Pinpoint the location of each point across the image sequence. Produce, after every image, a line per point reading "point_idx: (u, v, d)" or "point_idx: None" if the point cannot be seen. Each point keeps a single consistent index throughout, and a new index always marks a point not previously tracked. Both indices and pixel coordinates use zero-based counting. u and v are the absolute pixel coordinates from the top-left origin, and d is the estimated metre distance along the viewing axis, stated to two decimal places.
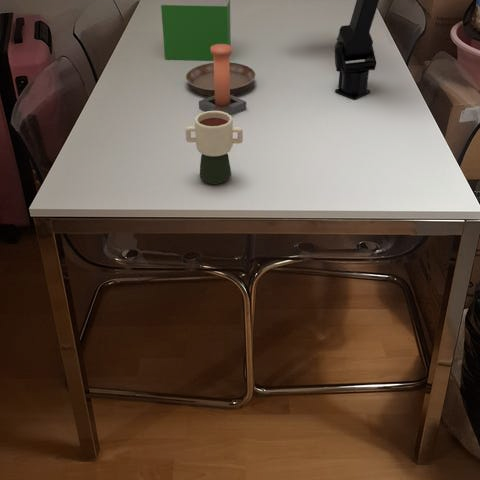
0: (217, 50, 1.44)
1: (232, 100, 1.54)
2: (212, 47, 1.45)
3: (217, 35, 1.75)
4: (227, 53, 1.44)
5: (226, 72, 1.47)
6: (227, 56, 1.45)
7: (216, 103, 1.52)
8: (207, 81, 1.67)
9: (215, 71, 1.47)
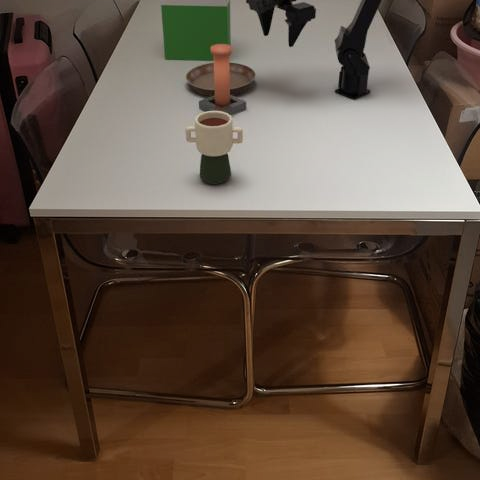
0: (217, 50, 1.44)
1: (232, 100, 1.54)
2: (212, 47, 1.45)
3: (217, 35, 1.75)
4: (227, 53, 1.44)
5: (226, 72, 1.47)
6: (227, 56, 1.45)
7: (216, 103, 1.52)
8: (207, 81, 1.67)
9: (215, 71, 1.47)
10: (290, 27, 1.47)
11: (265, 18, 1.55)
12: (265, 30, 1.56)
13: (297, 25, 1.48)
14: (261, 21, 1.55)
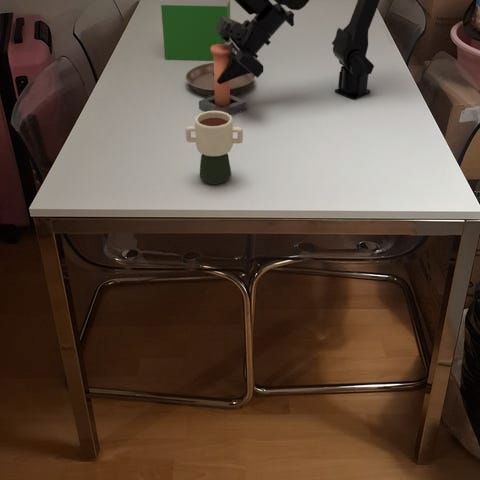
0: (217, 50, 1.44)
1: (232, 100, 1.54)
2: (212, 47, 1.45)
3: (217, 35, 1.75)
4: (227, 53, 1.44)
5: None
6: (227, 56, 1.45)
7: (216, 103, 1.52)
8: (207, 81, 1.67)
9: (215, 71, 1.47)
10: (229, 63, 1.45)
11: None
12: None
13: (236, 69, 1.46)
14: None
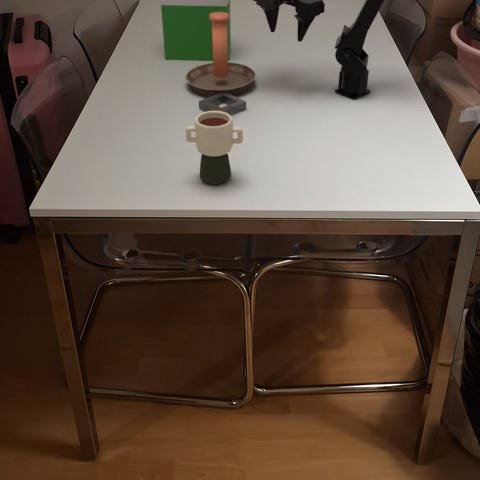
0: (212, 16, 1.54)
1: (232, 100, 1.54)
2: (212, 13, 1.56)
3: None
4: (221, 20, 1.53)
5: (221, 39, 1.57)
6: (222, 23, 1.55)
7: (213, 67, 1.62)
8: (207, 81, 1.67)
9: (212, 36, 1.58)
10: (300, 22, 1.49)
11: (272, 14, 1.57)
12: (272, 26, 1.58)
13: (306, 20, 1.50)
14: (268, 18, 1.57)
